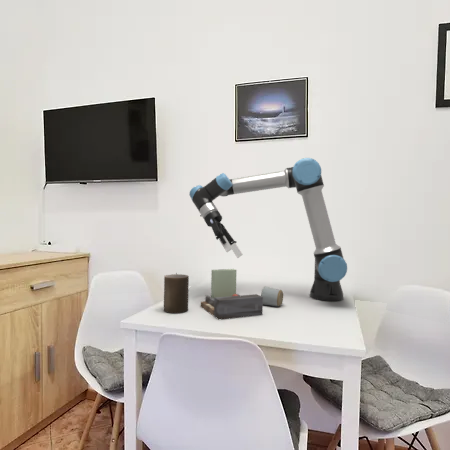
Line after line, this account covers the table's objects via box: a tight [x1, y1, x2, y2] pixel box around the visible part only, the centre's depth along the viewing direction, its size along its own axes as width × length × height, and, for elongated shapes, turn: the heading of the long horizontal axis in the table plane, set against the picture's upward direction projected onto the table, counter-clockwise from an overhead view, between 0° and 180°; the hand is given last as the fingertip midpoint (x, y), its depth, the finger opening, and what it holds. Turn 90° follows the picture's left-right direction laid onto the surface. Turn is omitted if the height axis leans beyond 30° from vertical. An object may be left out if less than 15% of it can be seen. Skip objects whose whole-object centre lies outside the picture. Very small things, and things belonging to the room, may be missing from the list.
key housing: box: [200, 293, 264, 320], centre depth 144 cm, size 20×18×8 cm
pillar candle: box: [163, 272, 190, 314], centre depth 143 cm, size 10×10×15 cm
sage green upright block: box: [210, 268, 238, 299], centre depth 150 cm, size 3×10×13 cm, turn 114°
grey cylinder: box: [260, 286, 284, 307], centre depth 155 cm, size 11×8×8 cm
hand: (235, 253), depth 153 cm, fingers open, 13 cm apart
